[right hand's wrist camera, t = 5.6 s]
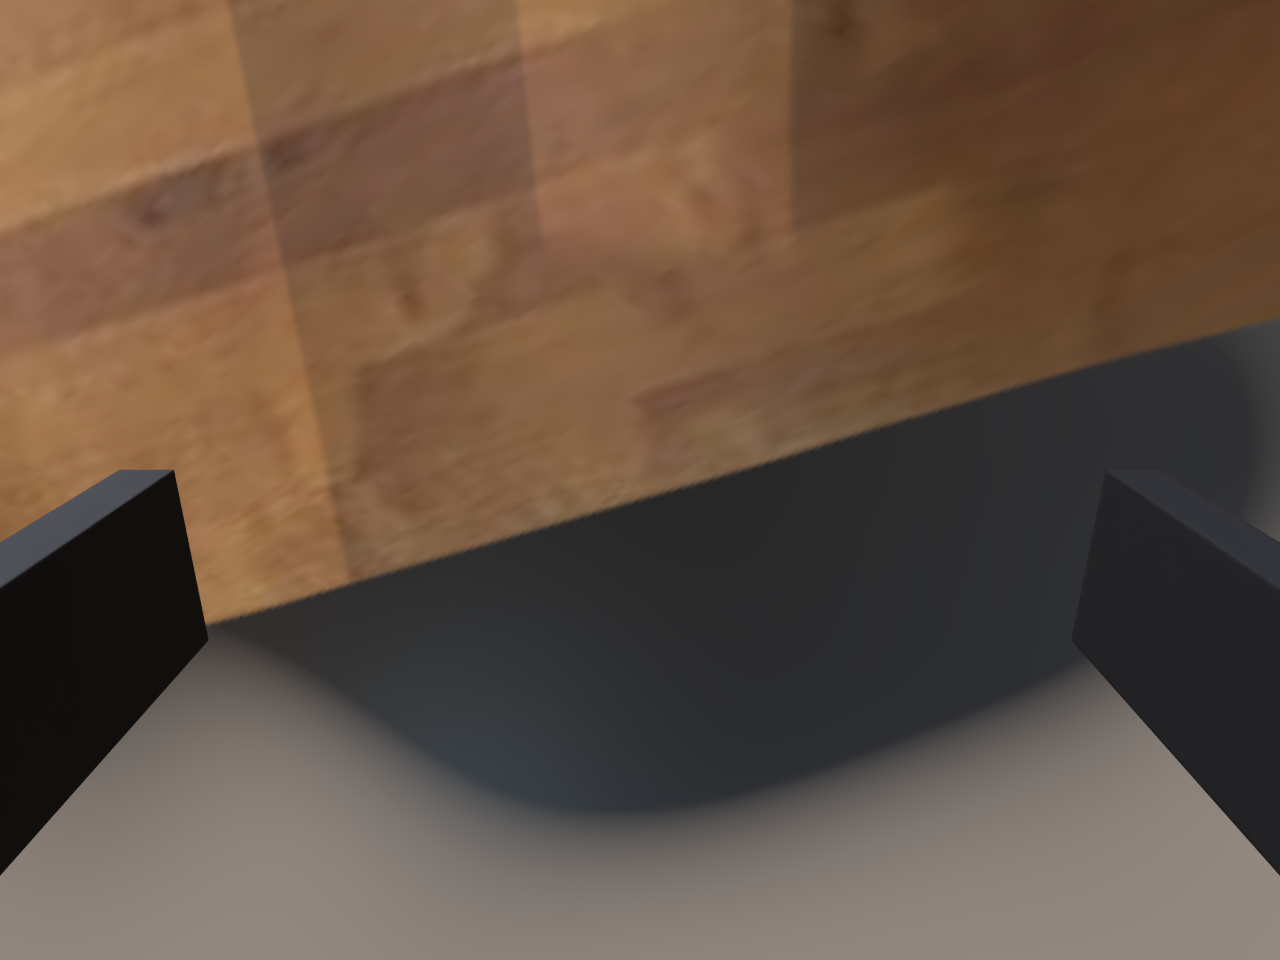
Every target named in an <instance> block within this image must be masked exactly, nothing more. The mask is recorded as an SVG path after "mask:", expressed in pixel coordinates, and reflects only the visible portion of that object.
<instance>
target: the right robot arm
mask: <svg viewBox="0 0 1280 960" xmlns="http://www.w3.org/2000/svg"><path fill="white" fill-rule="evenodd" d="M207 641H208V635H207V631H206V625H205V620H204V616H203V611H202V606H201V601H200V596H199V591H198V586H197V581H196V576H195V571H194V566H193V561H192V557H191V552H190V547H189V542H188V537H187V532H186V527H185V522H184V517H183V512H182V507H181V502H180V497H179V493H178V488H177V483H176V478H175V473H174V470H119V471H117V472H115V473H114V474H112V475H110V476H109V477H107V478H105V479H104V480H102V481H101V482H99V483H97V484H96V485H94V486H92V487H91V488H89V489H87V490H86V491H84V492H82V493H81V494H79V495H78V496H76V497H74V498H73V499H71V500H69V501H68V502H66V503H64V504H63V505H61V506H59V507H58V508H56V509H55V510H53V511H51V512H50V513H48V514H46V515H45V516H43V517H41V518H40V519H38V520H37V521H35V522H33V523H32V524H30V525H28V526H27V527H25V528H23V529H22V530H20V531H18V532H17V533H15V534H14V535H12V536H10V537H9V538H7V539H5V540H4V541H2V542H0V875H1V874H2V873H3V872H4V871H5V870H6V868H7V867H8V866H9V865H10V864H11V863H12V862H13V860H14V859H15V858H16V857H17V856H18V855H19V854H20V853H21V851H22V850H23V849H24V848H25V847H26V846H27V845H28V844H29V842H30V841H31V840H32V839H33V838H34V837H35V836H36V835H37V833H38V832H39V831H40V830H41V829H42V828H43V827H44V825H45V824H46V823H47V822H48V821H49V820H50V819H51V818H52V816H53V815H54V814H55V813H56V812H57V811H58V810H59V809H60V807H61V806H62V805H63V804H64V803H65V802H66V801H67V800H68V798H69V797H70V796H71V795H72V794H73V793H74V792H75V790H76V789H77V788H78V787H79V786H80V785H81V784H82V783H83V781H84V780H85V779H86V778H87V777H88V776H89V775H90V773H91V772H92V771H93V770H94V769H95V768H96V767H97V766H98V764H99V763H100V762H101V761H102V760H103V759H104V758H105V757H106V755H107V754H108V753H109V752H110V751H111V750H112V749H113V748H114V746H115V745H116V744H117V743H118V742H119V741H120V740H121V739H122V737H123V736H124V735H125V734H126V733H127V732H128V731H129V729H130V728H131V727H132V726H133V725H134V724H135V723H136V721H137V720H138V719H139V718H140V717H141V716H142V715H143V714H144V713H145V711H146V710H147V709H148V708H149V707H150V706H151V705H152V703H153V702H154V701H155V700H156V699H157V698H158V697H159V696H160V694H161V693H162V692H163V691H164V690H165V689H166V688H167V687H168V685H169V684H170V683H171V682H172V681H173V680H174V679H175V677H176V676H177V675H178V674H179V673H180V672H181V671H182V670H183V668H184V667H185V666H186V665H187V664H188V663H189V662H190V660H191V659H192V658H193V657H194V656H195V655H196V654H197V653H198V652H199V650H200V649H201V648H202V647H203V646H204V645H205V644H206V642H207ZM1072 641H1073V642H1074V644H1075V645H1076V646H1077V647H1078V648H1079V649H1080V650H1081V651H1082V653H1083V654H1084V655H1085V656H1086V657H1087V658H1088V659H1089V661H1090V662H1091V663H1092V664H1093V665H1094V666H1095V667H1096V668H1097V670H1098V671H1099V672H1100V673H1101V674H1102V675H1103V676H1104V677H1105V679H1106V680H1107V681H1108V682H1109V683H1110V684H1111V685H1112V687H1113V688H1114V689H1115V690H1116V691H1117V692H1118V693H1119V694H1120V695H1121V697H1122V698H1123V699H1124V700H1125V701H1126V702H1127V703H1128V705H1129V706H1130V707H1131V708H1132V709H1133V710H1134V711H1135V713H1136V714H1137V715H1138V716H1139V717H1140V718H1141V719H1142V720H1143V722H1144V723H1145V724H1146V725H1147V726H1148V727H1149V728H1150V729H1151V731H1152V732H1153V733H1154V734H1155V735H1156V736H1157V737H1158V739H1159V740H1160V741H1161V742H1162V743H1163V744H1164V745H1165V746H1166V748H1167V749H1168V750H1169V751H1170V752H1171V753H1172V754H1173V755H1174V757H1175V758H1176V759H1177V760H1178V761H1179V762H1180V763H1181V764H1182V766H1183V767H1184V768H1185V769H1186V770H1187V771H1188V772H1189V774H1190V775H1191V776H1192V777H1193V778H1194V779H1195V780H1196V781H1197V783H1198V784H1199V785H1200V786H1201V787H1202V788H1203V789H1204V790H1205V792H1206V793H1207V794H1208V795H1209V796H1210V797H1211V798H1212V799H1213V801H1214V802H1215V803H1216V804H1217V805H1218V806H1219V807H1220V809H1221V810H1222V811H1223V812H1224V813H1225V814H1226V815H1227V816H1228V818H1229V819H1230V820H1231V821H1232V822H1233V823H1234V824H1235V825H1236V827H1237V828H1238V829H1239V830H1240V831H1241V832H1242V833H1243V835H1244V836H1245V837H1246V838H1247V839H1248V840H1249V841H1250V842H1251V844H1252V845H1253V846H1254V847H1255V848H1256V849H1257V850H1258V851H1259V853H1260V854H1261V855H1262V856H1263V857H1264V858H1265V859H1266V861H1267V862H1268V863H1269V864H1270V865H1271V866H1272V867H1273V868H1274V870H1275V871H1276V872H1277V873H1278V874H1279V875H1280V542H1278V541H1276V540H1275V539H1273V538H1271V537H1270V536H1268V535H1266V534H1265V533H1263V532H1262V531H1260V530H1258V529H1257V528H1255V527H1253V526H1252V525H1250V524H1248V523H1247V522H1245V521H1243V520H1242V519H1240V518H1239V517H1237V516H1235V515H1234V514H1232V513H1230V512H1229V511H1227V510H1225V509H1224V508H1222V507H1221V506H1219V505H1217V504H1216V503H1214V502H1212V501H1211V500H1209V499H1207V498H1206V497H1204V496H1202V495H1201V494H1199V493H1197V492H1196V491H1194V490H1193V489H1191V488H1189V487H1188V486H1186V485H1184V484H1183V483H1181V482H1179V481H1178V480H1176V479H1175V478H1173V477H1171V476H1170V475H1168V474H1166V473H1165V472H1163V471H1161V470H1106V473H1105V478H1104V483H1103V488H1102V493H1101V497H1100V502H1099V507H1098V512H1097V517H1096V522H1095V527H1094V532H1093V537H1092V542H1091V547H1090V552H1089V557H1088V561H1087V566H1086V571H1085V576H1084V581H1083V586H1082V591H1081V596H1080V601H1079V606H1078V611H1077V616H1076V620H1075V625H1074V630H1073V635H1072Z"/></svg>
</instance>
